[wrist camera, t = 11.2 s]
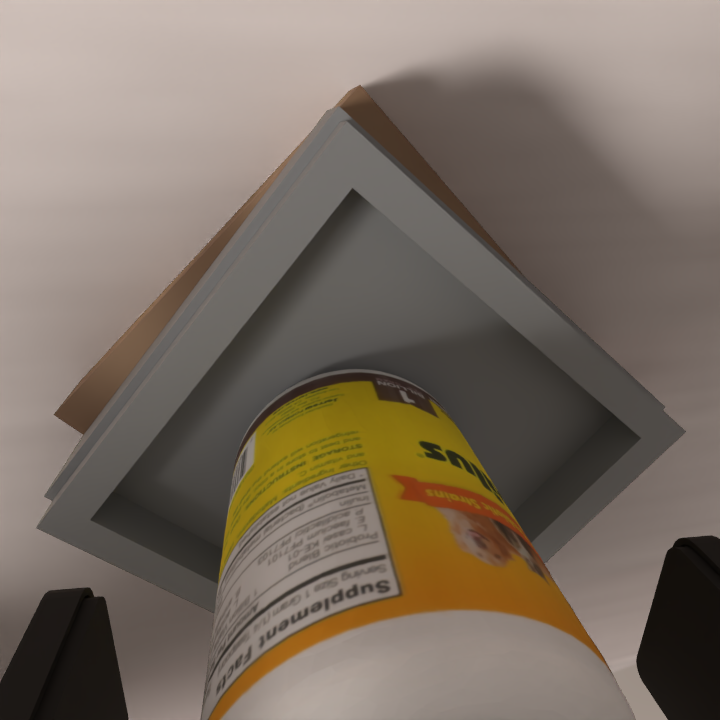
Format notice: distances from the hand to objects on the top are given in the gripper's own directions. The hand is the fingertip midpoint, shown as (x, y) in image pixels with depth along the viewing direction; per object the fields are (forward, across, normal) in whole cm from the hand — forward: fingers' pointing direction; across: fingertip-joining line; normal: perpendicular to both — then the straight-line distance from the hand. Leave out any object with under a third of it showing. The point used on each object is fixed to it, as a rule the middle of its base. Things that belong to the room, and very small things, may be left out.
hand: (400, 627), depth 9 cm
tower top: (+8, 0, 0) cm, 8 cm away
